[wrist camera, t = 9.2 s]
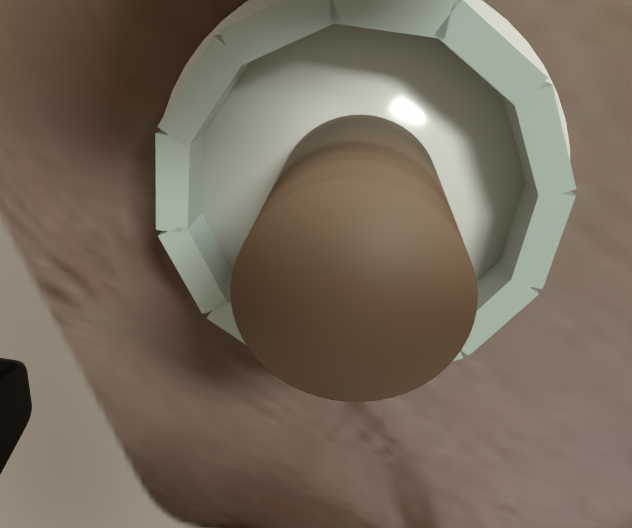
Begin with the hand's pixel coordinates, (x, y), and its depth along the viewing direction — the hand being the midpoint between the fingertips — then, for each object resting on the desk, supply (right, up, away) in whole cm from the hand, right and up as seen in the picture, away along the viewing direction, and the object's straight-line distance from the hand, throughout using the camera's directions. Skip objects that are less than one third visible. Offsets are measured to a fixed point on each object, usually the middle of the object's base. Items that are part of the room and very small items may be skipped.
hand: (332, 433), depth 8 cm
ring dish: (+1, +5, +10) cm, 11 cm away
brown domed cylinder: (+1, +5, +10) cm, 11 cm away
